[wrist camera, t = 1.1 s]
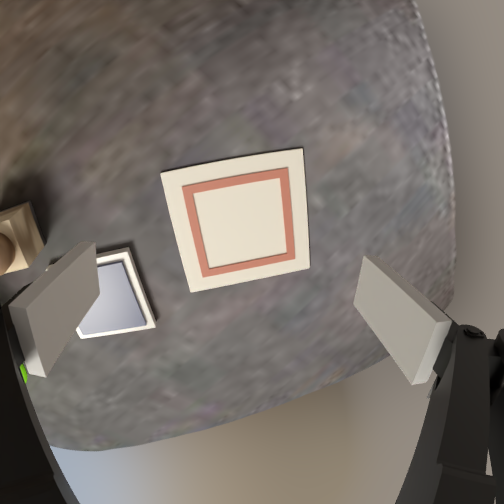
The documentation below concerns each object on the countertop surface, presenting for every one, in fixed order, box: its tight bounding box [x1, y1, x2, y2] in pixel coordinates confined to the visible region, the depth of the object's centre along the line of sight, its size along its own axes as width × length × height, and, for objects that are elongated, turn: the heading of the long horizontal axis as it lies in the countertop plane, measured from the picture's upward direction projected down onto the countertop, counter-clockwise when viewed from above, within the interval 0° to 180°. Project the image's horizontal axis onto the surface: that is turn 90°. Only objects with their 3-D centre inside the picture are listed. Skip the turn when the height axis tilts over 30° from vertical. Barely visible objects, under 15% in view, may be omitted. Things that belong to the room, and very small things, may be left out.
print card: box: [160, 148, 310, 292], centre depth 38 cm, size 16×16×1 cm
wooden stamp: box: [0, 200, 46, 275], centre depth 30 cm, size 6×6×8 cm
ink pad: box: [46, 247, 156, 339], centre depth 39 cm, size 12×12×2 cm
